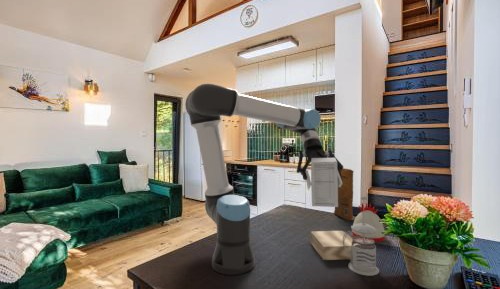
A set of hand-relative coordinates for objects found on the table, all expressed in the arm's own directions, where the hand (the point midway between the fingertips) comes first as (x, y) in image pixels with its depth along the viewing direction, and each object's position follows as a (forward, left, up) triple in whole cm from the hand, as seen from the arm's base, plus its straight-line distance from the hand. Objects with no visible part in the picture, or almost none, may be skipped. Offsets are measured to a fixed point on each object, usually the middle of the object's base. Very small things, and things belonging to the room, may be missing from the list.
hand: (325, 185), depth 95 cm
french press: (+9, -9, -27) cm, 30 cm away
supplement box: (0, +1, -7) cm, 7 cm away
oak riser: (+5, +5, -27) cm, 28 cm away
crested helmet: (+27, +19, -27) cm, 43 cm away
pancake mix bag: (+27, +47, -27) cm, 60 cm away
